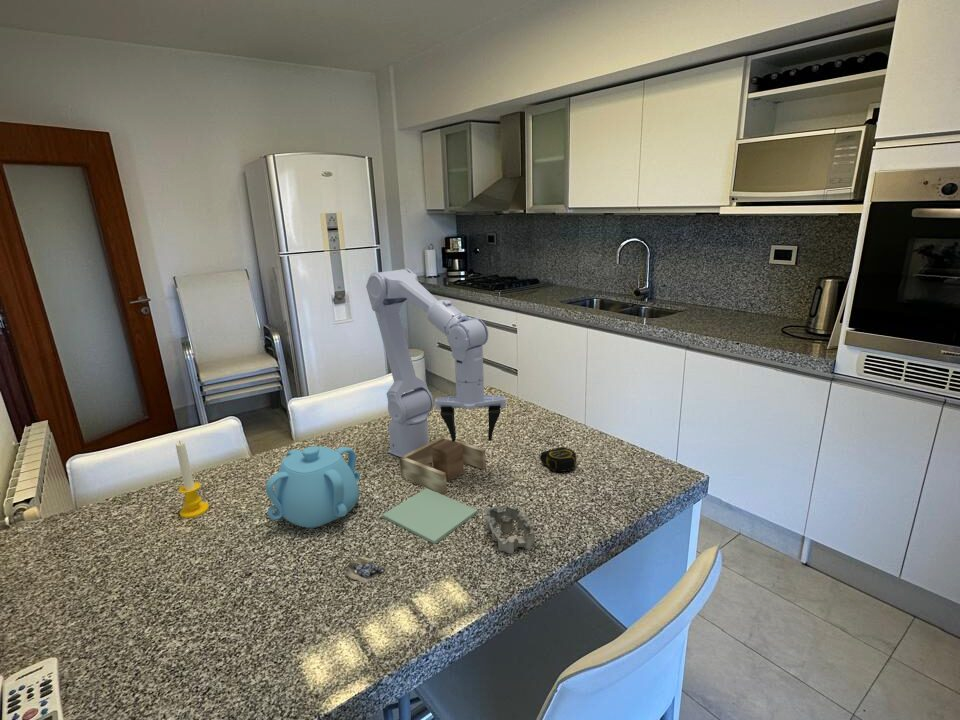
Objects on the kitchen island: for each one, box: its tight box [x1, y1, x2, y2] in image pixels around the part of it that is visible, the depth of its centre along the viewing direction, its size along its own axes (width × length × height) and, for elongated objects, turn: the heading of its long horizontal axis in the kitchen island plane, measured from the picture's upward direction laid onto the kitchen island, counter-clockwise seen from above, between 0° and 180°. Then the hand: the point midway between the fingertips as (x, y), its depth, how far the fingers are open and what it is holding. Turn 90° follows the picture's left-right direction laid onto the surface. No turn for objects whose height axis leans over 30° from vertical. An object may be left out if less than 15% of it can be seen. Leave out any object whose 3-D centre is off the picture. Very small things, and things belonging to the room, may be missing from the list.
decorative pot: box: [265, 445, 361, 530], centre depth 99 cm, size 16×16×14 cm
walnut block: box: [432, 439, 465, 482], centre depth 112 cm, size 4×5×7 cm
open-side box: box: [398, 435, 487, 495], centre depth 114 cm, size 13×14×4 cm
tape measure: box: [539, 446, 577, 472], centre depth 114 cm, size 7×7×4 cm
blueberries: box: [344, 555, 387, 584], centre depth 84 cm, size 7×8×2 cm
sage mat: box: [381, 487, 479, 545], centre depth 98 cm, size 14×12×1 cm
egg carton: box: [483, 504, 537, 554], centre depth 91 cm, size 10×7×4 cm
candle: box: [175, 440, 210, 519], centre depth 101 cm, size 5×5×16 cm
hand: (471, 439), depth 108 cm, fingers open, 7 cm apart
